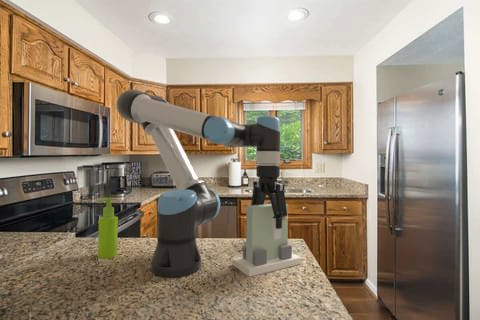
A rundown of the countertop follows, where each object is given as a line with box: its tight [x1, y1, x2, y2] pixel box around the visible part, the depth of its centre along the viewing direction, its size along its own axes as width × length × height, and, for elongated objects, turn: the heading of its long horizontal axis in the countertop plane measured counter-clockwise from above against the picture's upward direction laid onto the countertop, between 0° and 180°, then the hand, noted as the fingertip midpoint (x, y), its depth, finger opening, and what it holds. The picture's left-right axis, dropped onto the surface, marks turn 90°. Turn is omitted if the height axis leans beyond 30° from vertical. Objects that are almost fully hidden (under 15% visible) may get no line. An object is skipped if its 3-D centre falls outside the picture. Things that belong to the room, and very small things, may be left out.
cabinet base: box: [231, 244, 302, 278], centre depth 85 cm, size 20×10×6 cm, turn 121°
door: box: [245, 203, 289, 264], centre depth 85 cm, size 14×5×17 cm, turn 121°
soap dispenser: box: [96, 197, 119, 260], centre depth 91 cm, size 6×7×20 cm
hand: (267, 235), depth 85 cm, fingers open, 9 cm apart
